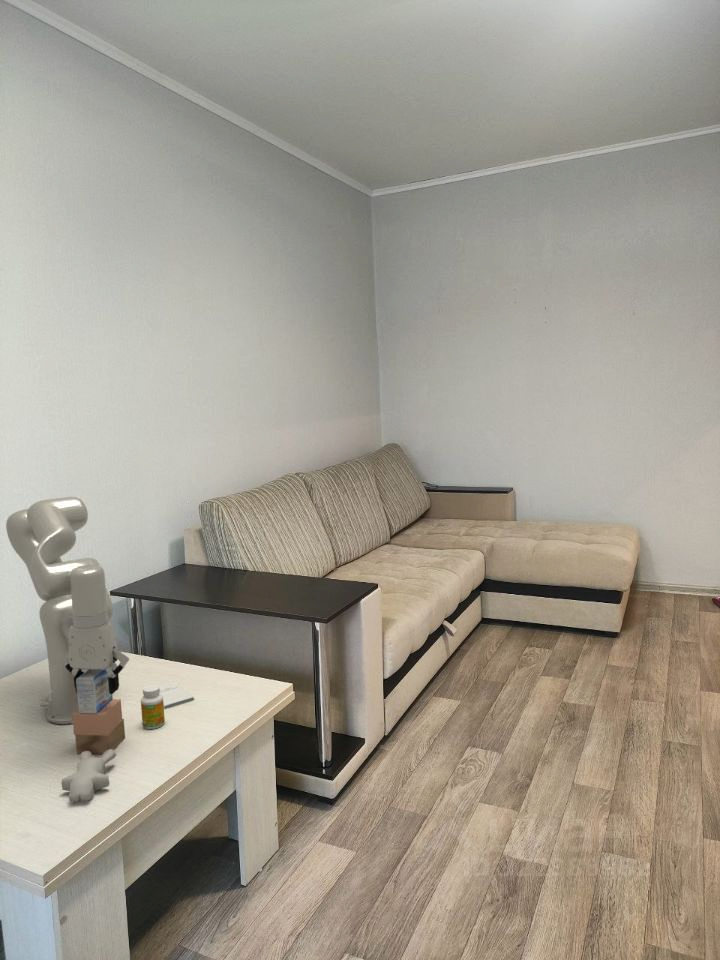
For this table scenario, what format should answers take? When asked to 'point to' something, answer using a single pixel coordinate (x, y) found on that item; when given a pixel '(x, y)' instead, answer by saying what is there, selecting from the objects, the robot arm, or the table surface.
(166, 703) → the external hard drive
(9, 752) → the table surface
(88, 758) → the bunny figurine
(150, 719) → the supplement bottle
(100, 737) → the tower bottom block
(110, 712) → the tower top block
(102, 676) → the medicine box
